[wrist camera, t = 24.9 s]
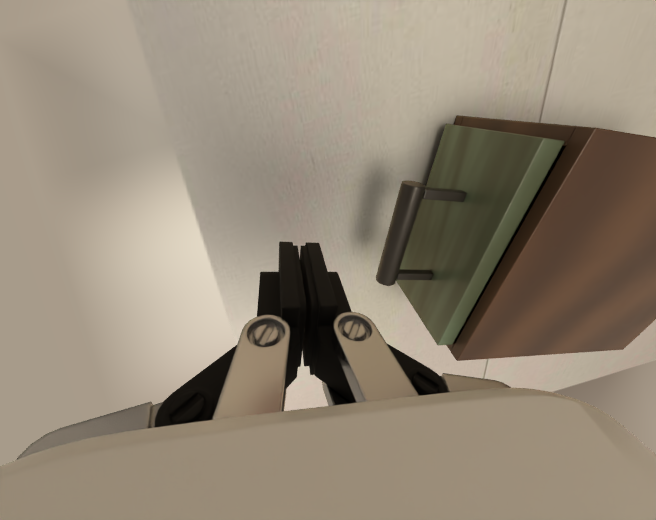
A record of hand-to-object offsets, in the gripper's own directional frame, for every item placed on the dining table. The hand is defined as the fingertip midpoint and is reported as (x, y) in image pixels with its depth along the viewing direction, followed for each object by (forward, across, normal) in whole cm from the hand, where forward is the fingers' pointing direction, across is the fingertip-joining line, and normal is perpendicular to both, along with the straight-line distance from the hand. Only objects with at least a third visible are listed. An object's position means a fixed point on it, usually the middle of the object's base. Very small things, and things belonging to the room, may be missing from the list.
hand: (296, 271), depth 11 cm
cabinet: (+10, -20, 0) cm, 22 cm away
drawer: (+9, -16, 0) cm, 18 cm away
